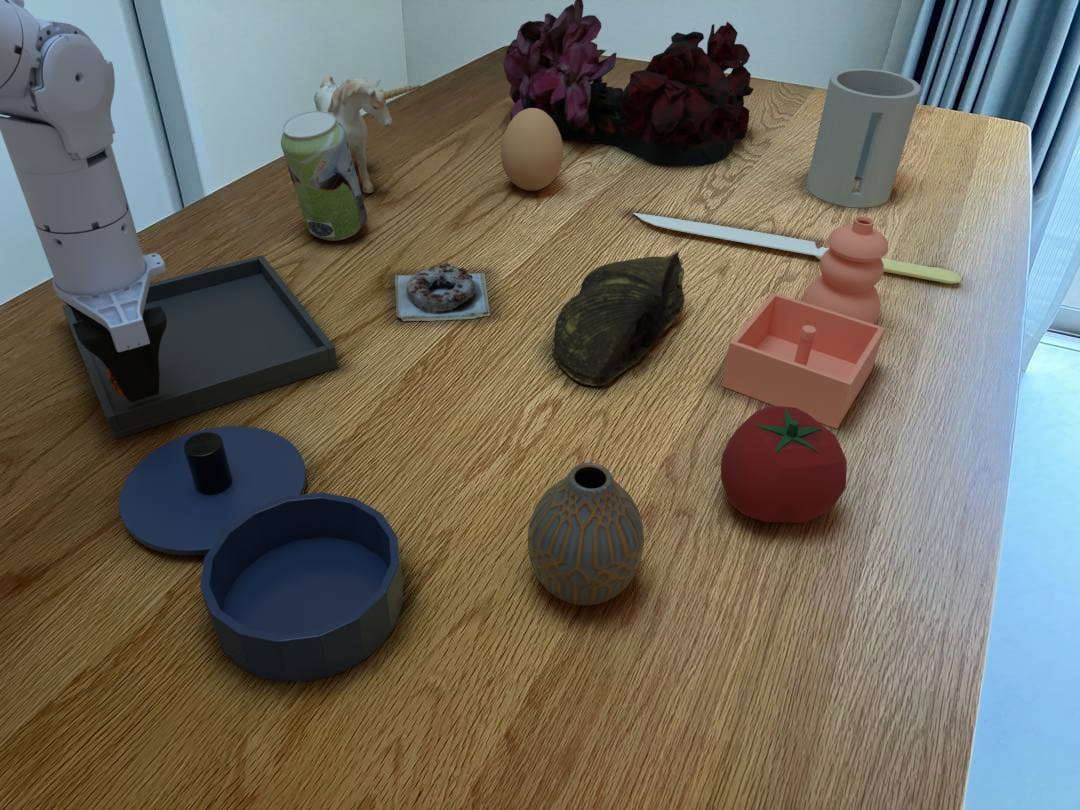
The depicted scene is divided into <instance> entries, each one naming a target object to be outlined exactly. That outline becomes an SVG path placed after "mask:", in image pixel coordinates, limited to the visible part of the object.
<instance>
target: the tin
mask: <svg viewBox="0 0 1080 810" xmlns="http://www.w3.org/2000/svg"><path fill="white" fill-rule="evenodd" d="M399 547H400V546H399V538H398V535H397V534H396V532H395V530H394V529H393V528H392V526H391V525H390V523H389V521H388V520H387V519H386V517H385V516H384V515H383V513H382V512H381V511H378V510H377V509H375V508H374V507H372V506H370V505H368V504H367V503H364V502H363V501H361V500H360V499H357V498H355V497H350V496H345V495H339V494H333V493H329V492H313V493H303V495H293V496H287V497H283V498H280V499H278V500H275V501H272V502H270V503H267V504H264V505H262V506H259V507H257V508H254V509H252V510H250V511H249V512H247V513H246V514H245V515H243V516H242V517H241V518H239V519H238V520H237V521H235V522H234V523H232V524H231V525H230V526H228V527H227V528H226V529H224V530H223V531H222V533H221V534H220V536H219V537H218V539H217V540H216V542H215V543H214V545H213V546H212V548H211V549H210V550H209V552H208V553H207V554H205V555H204V559H203V565H202V571H201V577H200V584H199V589H200V592H201V595H202V598H203V602H204V604H205V607H206V610H207V613H208V616H209V620H210V622H211V625H212V628H213V630H214V632H215V635H216V637H217V640H218V642H219V645H220V647H221V649H222V652H223V653H224V654H225V655H226V656H227V658H229V659H230V660H231V661H232V662H233V663H234V664H235V665H236V666H238V667H239V668H240V669H242V670H244V671H246V672H247V673H249V674H251V675H253V676H256V677H259V678H262V679H266V680H269V681H275V682H282V683H301V682H311V681H316V680H321V679H325V678H328V677H332V676H336V675H338V674H340V673H342V672H344V671H347V670H349V669H351V668H353V667H354V666H356V665H358V664H359V663H361V662H363V661H364V660H365V659H367V658H369V657H370V656H371V655H372V654H373V653H374V652H376V651H377V650H378V649H379V648H380V647H381V645H382V644H384V643H385V641H386V640H387V639H388V637H389V636H390V635H391V633H392V631H393V630H394V628H395V627H396V625H397V623H398V621H399V618H400V615H401V612H402V608H403V605H404V601H405V600H404V586H403V585H404V584H403V572H402V564H401V556H400V555H401V554H400V548H399Z"/></svg>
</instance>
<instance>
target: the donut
mask: <svg viewBox="0 0 1080 810" xmlns="http://www.w3.org/2000/svg"><path fill="white" fill-rule="evenodd" d="M394 286H395V287H394V289H395V306H396V307H395V310H396V313H395V314H396V317H397V318H399V319H401V321H402V322H415V321H416V322H419V321H423V322H426V321H427V322H436V321H441V322H443V321H453V320H455V321H457V320H460V321H461V320H462V321H463V320H474V319H475V320H476V319H478V318H483V317H490V316H491V313H490V305H489V298H488V289H487V281H486V274H485V272H477V273H468V270H467V269H465V268H464V267H457V266H453V265H451V264H450V263H448V262H443V264H438V265H437V266H430V267H428V268H425V269H422V270H419V271H417V272H416V273H414V274H405V275H404V274H395V275H394Z"/></svg>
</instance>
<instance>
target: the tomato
mask: <svg viewBox="0 0 1080 810" xmlns="http://www.w3.org/2000/svg"><path fill="white" fill-rule="evenodd" d="M847 462H848V460H847V458H846V456H845V453H844V451H843V449H842V446H841V444H840V441H839V440H838V438H837V436H836V435H835V434H834V433H833V432H832V431H831V430H829V429H828V428H827V427H826V426H825V425H824V424H822V423H820V422H818V421H816V420H815V419H814V418H813V417H811V416H810V415H809V414H807V413H805V412H803V411H801V410H799V409H797V408H794V407H786V406H774V405H768V406H766V407H763V408H761V409H758V410H757V411H755V412H754V413H752V415H750V416H749V417H748V418H747V419H746V420H745V421H743V423H741V424H740V426H739V427H737V429H736V430H735V431H734V432H733V433H732V435H731V436H730V438H729V440H728V441H727V443H726V446H725V448H724V450H723V452H722V454H721V462H720V481H721V483H722V487H723V490H724V492H725V495H726V496H727V498H728V500H729V501H730V503H731V505H732V506H733V507H734V508H735V509H736V510H737V511H739V512H740V513H741V515H744V516H747V517H749V518H752V519H755V520H757V521H761V522H763V523H787V524H788V523H791V524H793V523H794V524H797V523H799V524H805V523H808V522H810V521H812V520H814V519H816V518H818V517H820V516H822V515H823V514H826V513H827V512H829V511H830V510H831V509H832V508H833V507H834V506H835V505H836V503H837V502H838V501H839V499H841V496H842V495H843V493H844V491H845V490H846V489H847V473H848V472H847V470H848V469H847V467H848V466H847V464H848V463H847Z"/></svg>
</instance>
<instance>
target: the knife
mask: <svg viewBox="0 0 1080 810" xmlns="http://www.w3.org/2000/svg"><path fill="white" fill-rule="evenodd" d="M632 214H633V215H635V216H636V217H637V218H639V220H641V221H643V222H644V223H647V224H650V225H652V226H655V227H660V228H663V229H668V230H672V231H677V232H682V233H687V234H693V235H699V236H704V237H710V238H715V239H720V240H724V241H725V240H726V241H732V242H738V243H743V244H747V245H754V246H759V247H764V248H771V249H776V250H781V251H787V252H792V253H798V254H804V255H809V256H815V258H816V259H817V260H821V258H822V256H823V254H824V253H825V252H826V251H827V250H828V249H829V248H830V247H823V246H821V247H819V248H818V247H817V245H816V242H815V241H812V240H807V239H800V238H795V237H790V236H784V235H778V234H772V233H768V232H767V233H766V232H762V231H761V232H758V231H755V230H749V229H743V228H737V227H731V226H726V225H725V226H724V225H719V224H712V223H707V222H706V223H705V222H699V221H693V220H685V219H679V218H673V217H668V216H667V217H666V216H661V215H653V214H646V213H639V212H632ZM881 259H882V262H883V265H884V272H883V273H889V274H893V275H899V276H904V277H910V278H916V279H922V280H926V281H931V282H936V283H941V284H942V283H943V284H949V285H953V284H960V283H961V282H962V281H963V278H962V276H961V274H959V273H957V272H956V271H953V270H950V269H946V268H943V267H940V266H926V265H921V264H916V263H911V262H905V261H901V260H900V261H899V260H893V259H890V258H889V259H888V258H884V257H882V258H881Z"/></svg>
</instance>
